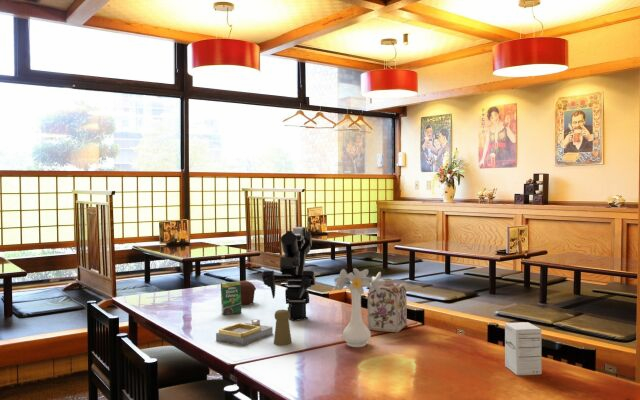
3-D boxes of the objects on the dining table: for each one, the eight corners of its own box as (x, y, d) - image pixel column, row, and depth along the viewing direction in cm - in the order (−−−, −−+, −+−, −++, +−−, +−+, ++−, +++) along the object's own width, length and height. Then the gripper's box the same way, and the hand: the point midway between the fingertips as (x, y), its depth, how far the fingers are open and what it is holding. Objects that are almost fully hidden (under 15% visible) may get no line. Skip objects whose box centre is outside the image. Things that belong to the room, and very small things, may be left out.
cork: (289, 345, 173) (288, 312, 173) (271, 345, 174) (270, 312, 174) (293, 340, 179) (293, 308, 179) (276, 339, 180) (276, 307, 180)
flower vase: (390, 342, 175) (389, 267, 175) (351, 354, 163) (350, 273, 162) (362, 334, 185) (361, 263, 184) (323, 345, 172) (322, 269, 172)
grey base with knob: (246, 329, 194) (246, 317, 194) (272, 333, 188) (272, 321, 188) (216, 340, 181) (215, 327, 181) (242, 345, 174) (242, 332, 174)
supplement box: (504, 366, 150) (503, 322, 149) (529, 365, 150) (529, 321, 150) (516, 375, 142) (515, 329, 142) (542, 374, 143) (542, 328, 143)
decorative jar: (407, 325, 197) (407, 277, 196) (398, 333, 186) (398, 282, 186) (377, 322, 202) (376, 275, 201) (366, 330, 191) (366, 280, 191)
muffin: (261, 302, 242) (261, 280, 241) (245, 307, 232) (245, 284, 232) (241, 299, 248) (241, 278, 248) (225, 304, 239) (225, 282, 238)
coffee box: (222, 315, 217) (221, 283, 217) (221, 313, 220) (220, 282, 220) (241, 313, 220) (241, 282, 220) (239, 311, 223) (239, 280, 223)
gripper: (262, 248, 190) (255, 284, 180) (313, 248, 188) (310, 284, 177) (267, 266, 198) (261, 302, 188) (316, 266, 196) (313, 302, 185)
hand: (286, 297), depth 184 cm, fingers open, 9 cm apart
